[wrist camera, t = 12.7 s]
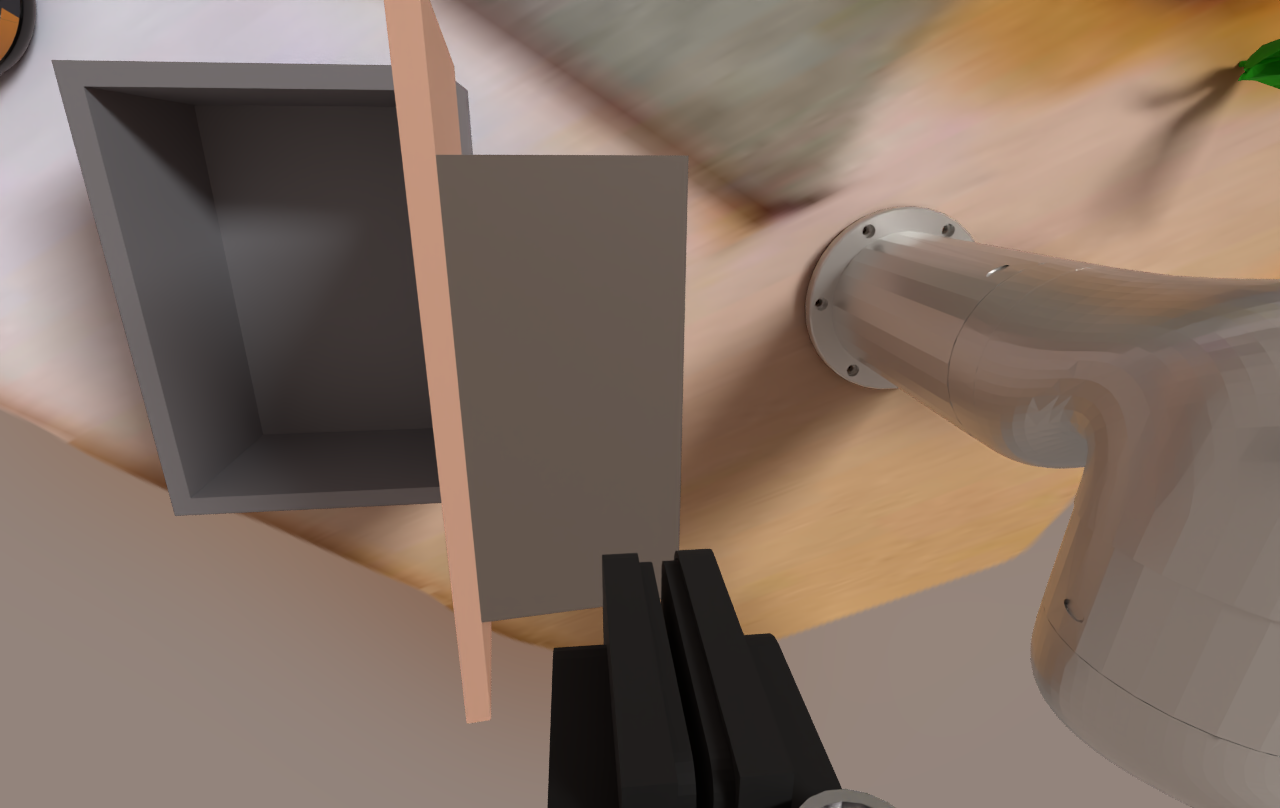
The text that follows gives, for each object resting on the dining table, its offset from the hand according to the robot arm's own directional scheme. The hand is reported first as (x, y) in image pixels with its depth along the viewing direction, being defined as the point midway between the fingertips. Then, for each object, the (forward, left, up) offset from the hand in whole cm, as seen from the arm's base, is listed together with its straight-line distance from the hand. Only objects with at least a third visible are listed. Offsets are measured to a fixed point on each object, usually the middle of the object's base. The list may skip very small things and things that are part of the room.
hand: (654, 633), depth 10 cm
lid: (+6, 0, -17) cm, 18 cm away
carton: (+15, 0, -36) cm, 39 cm away
